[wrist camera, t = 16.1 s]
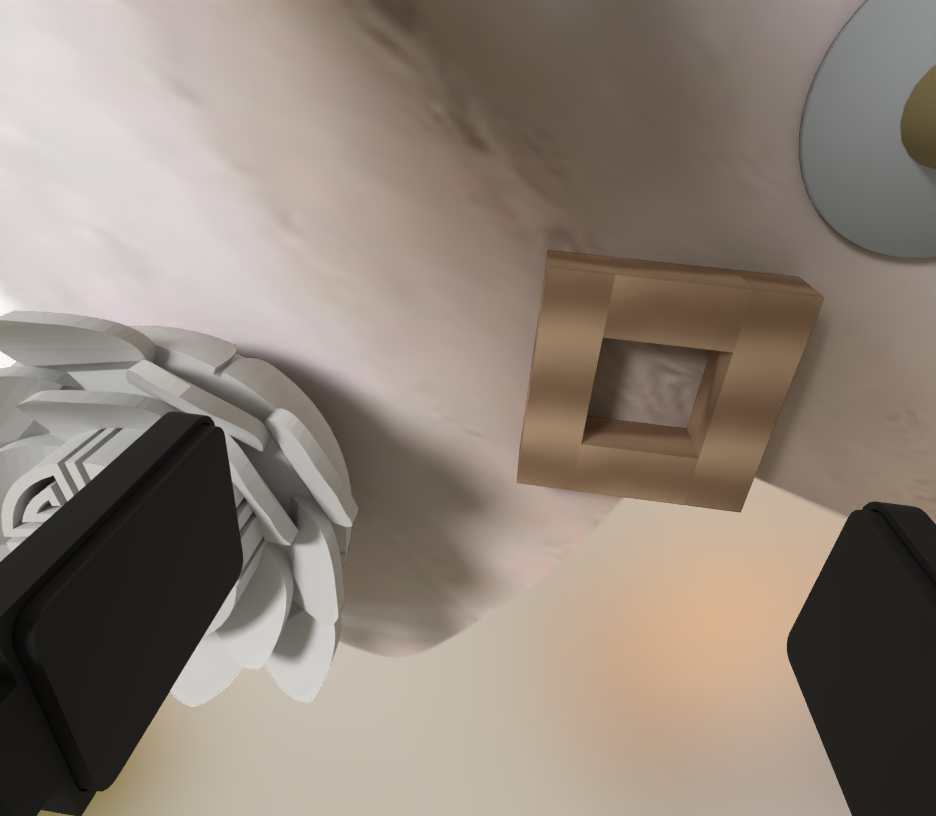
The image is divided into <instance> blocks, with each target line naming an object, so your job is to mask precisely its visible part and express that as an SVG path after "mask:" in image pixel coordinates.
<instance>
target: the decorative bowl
mask: <svg viewBox="0 0 936 816" xmlns="http://www.w3.org/2000/svg"><path fill="white" fill-rule="evenodd" d="M0 351H1V352H3V353H4V354H6V355H8V356H9V357H11V358H12V359H14V360H16V361H17V362H16V363H14V364H13V365H12V366H11V367H7V368H1V369H0V562H1V561H2V560H3V559H4V558H5V557H6V556H7V555H8V554H10V553H11V552H12V551H13V550H14V549H15V548H16V547H17V546H18V545H20V544H21V543H22V542H23V541H24V540H25V539H26V538H27V537H28V536H30V535H31V534H32V533H33V532H34V531H35V530H36V529H37V528H39V527H40V526H41V525H42V524H43V523H44V522H45V521H46V520H47V519H49V518H50V517H51V516H52V515H53V514H54V513H55V512H56V511H57V510H59V509H60V508H61V507H62V506H63V505H64V504H65V503H66V502H68V501H69V500H70V499H71V498H72V497H73V496H74V495H75V494H76V493H78V492H79V491H80V490H81V489H82V488H83V487H84V486H85V485H86V484H88V483H89V482H90V481H91V480H92V479H93V478H94V477H95V476H97V475H98V474H99V473H100V472H101V471H102V470H103V469H104V468H105V467H107V466H108V465H109V464H110V463H111V462H112V461H113V460H114V459H115V458H117V457H118V456H119V455H120V454H121V453H122V452H123V451H124V450H125V449H127V448H128V447H129V446H130V445H131V444H132V443H133V442H134V441H136V440H137V439H138V438H139V437H140V436H141V435H142V434H143V433H144V432H146V431H147V430H148V429H149V428H150V427H151V426H152V425H153V424H154V423H156V422H157V421H158V420H159V419H160V418H161V417H162V416H163V415H165V414H166V413H168V412H172V411H175V412H183V413H191V414H199V415H207V416H209V417H211V418H212V420H213V421H214V424H215V426H218V427H221V428H222V429H223V431H224V434H225V439H226V445H227V452H228V458H229V465H230V471H231V478H232V484H233V491H234V498H235V504H236V511H237V517H238V524H239V530H240V537H241V543H242V550H243V566H242V571H241V573H240V576H239V578H238V580H237V582H236V584H235V585H234V587H233V588H232V590H231V592H230V593H229V595H228V597H227V598H226V600H225V602H224V603H223V605H222V606H221V608H220V610H219V611H218V613H217V615H216V616H215V618H214V620H213V621H212V623H211V625H210V626H209V628H208V629H207V631H206V633H205V634H204V636H203V638H202V639H201V641H200V643H199V644H198V646H197V647H196V649H195V651H194V652H193V654H192V656H191V657H190V659H189V661H188V662H187V664H186V666H185V667H184V669H183V670H182V672H181V674H180V675H179V677H178V679H177V680H176V682H175V684H174V685H173V687H172V688H171V690H170V692H171V693H172V695H173V696H174V697H175V698H176V699H177V700H179V701H180V702H182V703H184V704H185V705H188V706H191V707H195V706H198V705H201V704H203V703H205V702H207V701H209V700H211V699H212V698H214V697H215V696H216V695H218V694H219V693H220V692H221V691H223V690H224V689H225V688H226V687H227V686H228V685H229V684H230V683H231V682H232V681H233V680H234V679H235V678H236V677H237V675H238V674H239V673H240V671H241V670H242V668H243V667H245V668H248V669H260V668H262V667H263V666H265V668H266V670H267V671H268V673H269V675H270V676H271V677H272V679H273V680H274V681H275V683H276V684H277V685H278V686H279V687H280V688H281V689H282V690H283V691H284V692H286V694H288V695H289V696H290V697H291V698H292V699H294V700H297V701H300V702H311V701H312V700H313V698H314V697H315V696H316V694H317V693H318V691H319V689H320V688H321V686H322V684H323V682H324V680H325V678H326V675H327V672H328V670H329V667H330V664H331V662H332V659H333V656H334V653H335V651H336V648H337V644H338V640H339V636H340V629H341V615H340V612H341V609H342V607H343V604H344V583H343V573H342V569H343V566H344V563H345V560H346V556H347V552H348V548H349V543H350V538H351V531H352V525H353V523H354V520H355V518H356V516H357V513H358V506H357V504H356V502H355V500H354V499H353V497H352V493H351V486H350V480H349V475H348V471H347V467H346V464H345V461H344V458H343V455H342V452H341V449H340V447H339V445H338V442H337V440H336V438H335V436H334V434H333V432H332V430H331V428H330V427H329V425H328V424H327V422H326V420H325V419H324V417H323V416H322V414H321V413H320V412H319V410H318V409H317V407H316V406H315V405H314V404H313V402H312V401H311V400H310V399H309V398H308V396H307V395H306V394H305V393H304V392H303V391H302V390H301V389H300V388H299V387H298V386H297V385H296V384H295V383H294V382H293V381H291V380H290V379H289V378H288V377H287V376H285V375H284V374H283V373H282V372H280V371H279V370H278V369H277V368H275V367H274V366H272V365H271V364H269V363H267V362H265V361H263V360H260V359H256V358H245V357H243V356H241V355H239V354H237V353H236V351H237V346H236V345H235V344H232V343H229V342H227V341H224V340H222V339H219V338H216V337H213V336H210V335H206V334H202V333H198V332H194V331H189V330H184V329H178V328H171V327H161V326H125V325H122V324H119V323H116V322H112V321H108V320H104V319H99V318H93V317H88V316H80V315H72V314H63V313H50V312H33V311H13V312H10V313H7V314H5V315H3V316H0Z"/></svg>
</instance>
